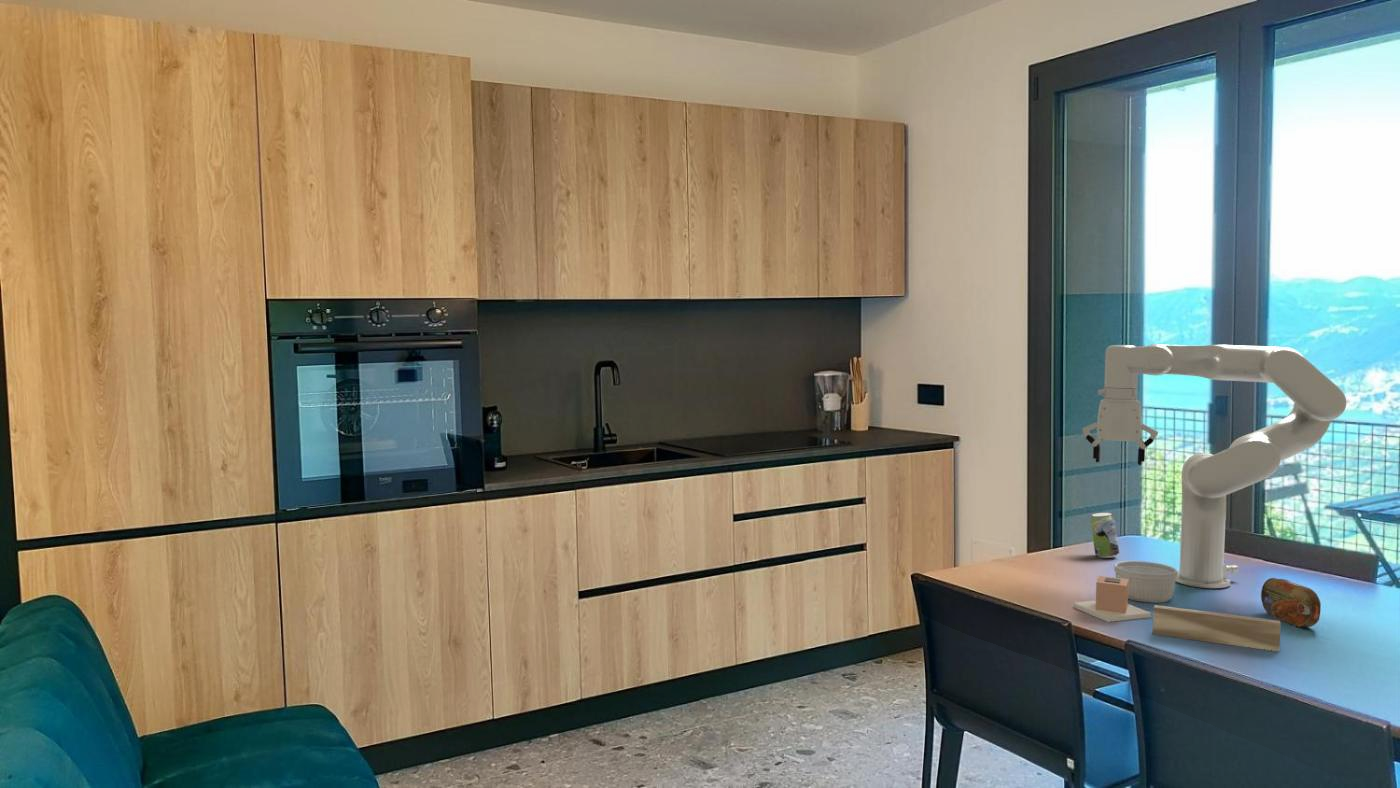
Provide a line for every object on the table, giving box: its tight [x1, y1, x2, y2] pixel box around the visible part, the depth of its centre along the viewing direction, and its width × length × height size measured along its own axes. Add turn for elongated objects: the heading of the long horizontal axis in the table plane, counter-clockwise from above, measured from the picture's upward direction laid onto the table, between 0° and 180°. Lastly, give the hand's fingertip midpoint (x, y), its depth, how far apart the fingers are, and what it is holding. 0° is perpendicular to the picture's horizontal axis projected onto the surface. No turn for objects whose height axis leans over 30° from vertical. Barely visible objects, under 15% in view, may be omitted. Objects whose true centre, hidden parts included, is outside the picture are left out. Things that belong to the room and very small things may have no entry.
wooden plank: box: [1152, 604, 1282, 652], centre depth 188 cm, size 2×22×6 cm, turn 62°
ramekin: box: [1113, 560, 1178, 604], centre depth 219 cm, size 13×13×7 cm
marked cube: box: [1095, 575, 1129, 613], centre depth 207 cm, size 6×6×6 cm
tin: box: [1260, 577, 1322, 628], centre depth 201 cm, size 15×3×8 cm, turn 5°
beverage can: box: [1090, 512, 1120, 559], centre depth 256 cm, size 6×7×12 cm
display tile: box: [1073, 600, 1152, 623], centre depth 207 cm, size 11×11×1 cm
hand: (1118, 463), depth 237 cm, fingers open, 9 cm apart
